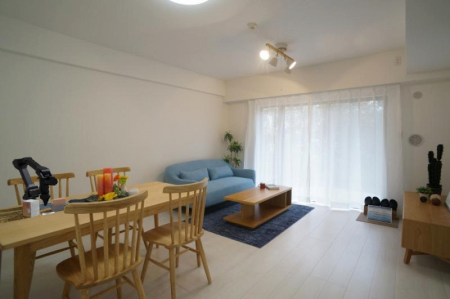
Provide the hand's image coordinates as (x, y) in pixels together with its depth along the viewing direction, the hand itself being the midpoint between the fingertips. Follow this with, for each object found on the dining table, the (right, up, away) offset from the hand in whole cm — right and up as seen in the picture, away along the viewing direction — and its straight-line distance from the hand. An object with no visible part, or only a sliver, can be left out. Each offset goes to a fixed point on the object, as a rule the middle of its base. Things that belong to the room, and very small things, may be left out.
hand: (45, 205), depth 173 cm
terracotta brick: (+14, +2, -4) cm, 15 cm away
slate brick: (0, -2, 0) cm, 2 cm away
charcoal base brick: (+14, -2, -4) cm, 15 cm away
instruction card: (+12, -3, -12) cm, 17 cm away
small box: (+3, -3, -16) cm, 17 cm away
